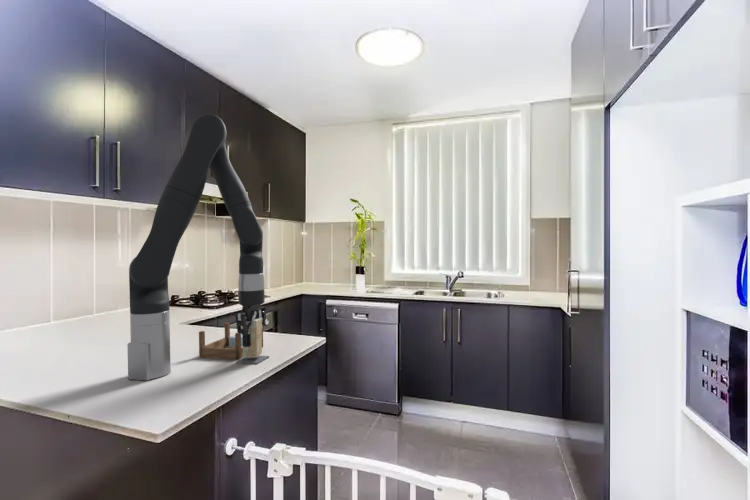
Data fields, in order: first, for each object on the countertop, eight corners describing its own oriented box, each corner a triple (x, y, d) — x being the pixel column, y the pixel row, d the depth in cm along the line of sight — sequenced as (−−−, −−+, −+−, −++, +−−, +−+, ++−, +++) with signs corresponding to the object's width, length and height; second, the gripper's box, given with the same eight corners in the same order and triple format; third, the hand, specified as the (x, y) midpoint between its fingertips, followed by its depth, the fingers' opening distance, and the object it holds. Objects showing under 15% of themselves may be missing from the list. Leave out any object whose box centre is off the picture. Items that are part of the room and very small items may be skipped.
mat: (257, 364, 111) (257, 362, 111) (235, 362, 112) (235, 361, 112) (269, 357, 117) (269, 356, 117) (248, 356, 119) (248, 354, 119)
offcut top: (239, 347, 119) (239, 338, 119) (229, 346, 120) (228, 337, 120) (251, 342, 125) (250, 333, 125) (240, 341, 126) (240, 333, 126)
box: (256, 357, 112) (256, 320, 112) (242, 357, 112) (241, 320, 112) (262, 352, 117) (261, 317, 117) (248, 352, 117) (248, 317, 117)
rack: (239, 359, 116) (238, 333, 116) (199, 357, 119) (198, 331, 119) (263, 347, 130) (262, 323, 130) (227, 345, 133) (226, 322, 133)
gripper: (249, 291, 107) (250, 350, 107) (274, 286, 121) (274, 338, 121) (226, 291, 108) (227, 349, 109) (253, 285, 122) (253, 337, 123)
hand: (252, 343), depth 115 cm, fingers closed on box, 5 cm apart
